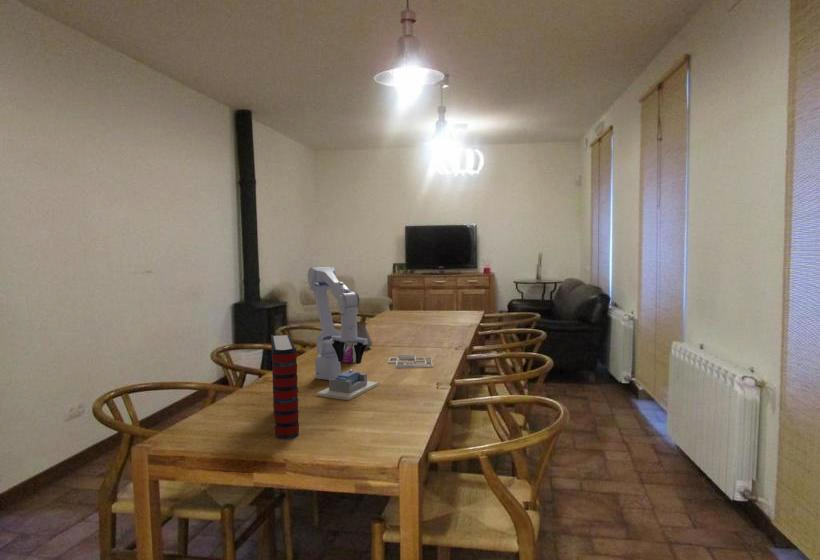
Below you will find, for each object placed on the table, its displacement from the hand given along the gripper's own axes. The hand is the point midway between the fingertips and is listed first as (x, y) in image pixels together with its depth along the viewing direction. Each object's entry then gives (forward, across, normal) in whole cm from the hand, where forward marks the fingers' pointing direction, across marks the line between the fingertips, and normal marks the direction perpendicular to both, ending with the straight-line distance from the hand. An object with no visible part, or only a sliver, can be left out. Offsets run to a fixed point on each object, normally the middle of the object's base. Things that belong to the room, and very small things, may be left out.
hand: (349, 362), depth 194 cm
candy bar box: (+10, -24, +34) cm, 43 cm away
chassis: (+9, +1, -3) cm, 10 cm away
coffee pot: (+10, -31, +55) cm, 64 cm away
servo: (+8, +1, -3) cm, 9 cm away
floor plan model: (+10, 0, +42) cm, 43 cm away
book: (+9, +3, -40) cm, 42 cm away
